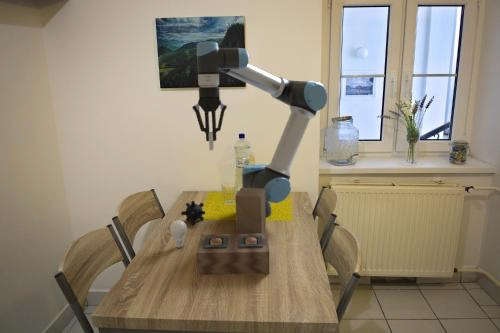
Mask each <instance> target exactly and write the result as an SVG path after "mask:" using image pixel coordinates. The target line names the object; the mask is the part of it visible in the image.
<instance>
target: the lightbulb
mask: <svg viewBox="0 0 500 333" xmlns="http://www.w3.org/2000/svg"><path fill="white" fill-rule="evenodd" d="M169 232H170V234H171V236H173V238H174V240H175V247H176V248H179V249H181V248H182V247H184V237H185V235H186V233H187V232H188V226H187V224H186V223H185V222H184V221H183V220H181V219H177V220H174V221H172V223H171V224H170V226H169Z"/></svg>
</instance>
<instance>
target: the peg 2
mask: <svg viewBox="0 0 500 333" xmlns="http://www.w3.org/2000/svg"><path fill="white" fill-rule="evenodd" d="M245 244H257V240H256V238H254V237H248V238H246V239H245Z"/></svg>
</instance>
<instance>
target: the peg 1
mask: <svg viewBox="0 0 500 333" xmlns="http://www.w3.org/2000/svg"><path fill="white" fill-rule="evenodd" d="M210 245H222V239H220V238H213V239H211V240H210Z"/></svg>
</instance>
